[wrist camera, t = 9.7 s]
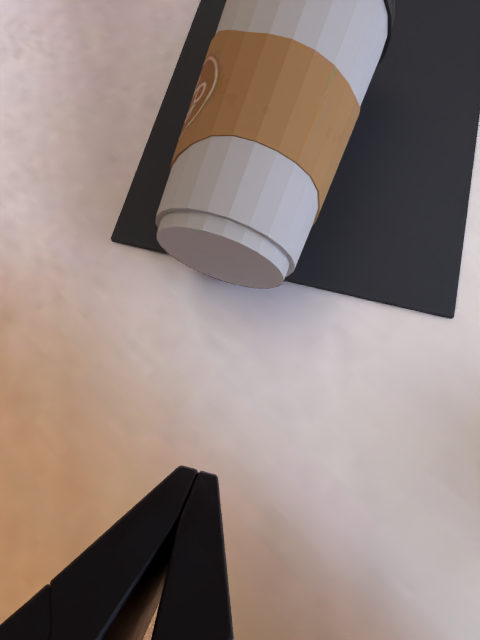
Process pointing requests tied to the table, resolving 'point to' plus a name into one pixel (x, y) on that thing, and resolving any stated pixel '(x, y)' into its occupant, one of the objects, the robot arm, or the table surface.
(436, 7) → the mat
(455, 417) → the table surface
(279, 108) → the coffee cup
